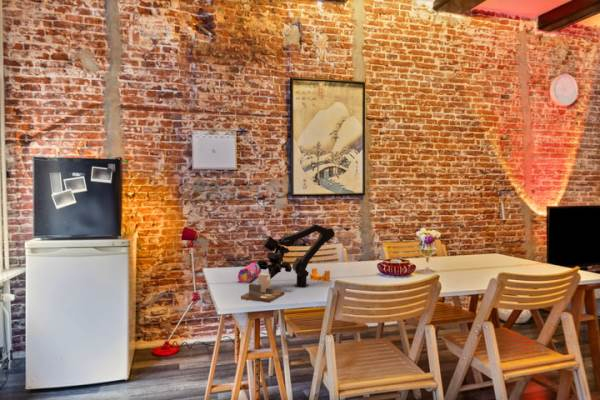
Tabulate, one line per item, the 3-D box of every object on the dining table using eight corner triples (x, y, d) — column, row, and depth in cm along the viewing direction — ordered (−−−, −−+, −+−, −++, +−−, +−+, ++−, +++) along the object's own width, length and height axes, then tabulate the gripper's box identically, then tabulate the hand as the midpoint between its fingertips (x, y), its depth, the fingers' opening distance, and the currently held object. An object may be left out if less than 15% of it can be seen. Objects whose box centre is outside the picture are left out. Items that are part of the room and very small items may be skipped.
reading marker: (267, 292, 222) (267, 284, 222) (272, 293, 221) (272, 284, 221) (266, 293, 221) (266, 284, 221) (271, 293, 220) (271, 285, 220)
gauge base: (257, 291, 234) (257, 277, 234) (284, 294, 228) (284, 280, 228) (240, 298, 217) (240, 284, 217) (269, 302, 211) (269, 287, 211)
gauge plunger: (261, 289, 229) (262, 273, 229) (276, 291, 226) (276, 274, 225) (258, 291, 225) (258, 274, 225) (272, 293, 222) (273, 276, 221)
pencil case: (252, 284, 251) (252, 268, 251) (236, 283, 253) (237, 267, 252) (261, 276, 273) (262, 262, 272) (247, 275, 274) (247, 261, 274)
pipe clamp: (309, 279, 266) (310, 269, 266) (314, 278, 270) (314, 268, 269) (325, 282, 259) (325, 271, 258) (329, 281, 262) (329, 270, 262)
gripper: (259, 245, 240) (249, 268, 230) (290, 247, 233) (281, 271, 223) (265, 257, 247) (256, 280, 238) (295, 259, 240) (287, 283, 230)
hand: (269, 278), depth 232 cm, fingers closed
